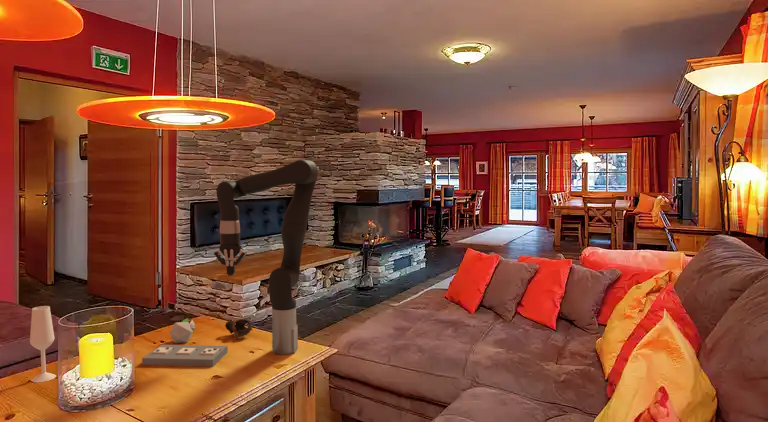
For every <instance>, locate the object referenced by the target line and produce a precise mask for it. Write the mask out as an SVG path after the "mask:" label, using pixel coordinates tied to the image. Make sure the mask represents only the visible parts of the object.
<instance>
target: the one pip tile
mask: <svg viewBox="0 0 768 422" xmlns="http://www.w3.org/2000/svg"><path fill="white" fill-rule="evenodd" d="M195 351H196V348H182V349H181V350H179V351H178V352H177V355H191V354H192V353H194V352H195Z"/></svg>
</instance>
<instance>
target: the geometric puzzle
mask: <svg viewBox="0 0 768 422" xmlns="http://www.w3.org/2000/svg"><path fill="white" fill-rule="evenodd" d="M181 322H189V324H190V327H191V329H192V331H193V332H194V331H195V330H196V325H197V322H195V321H194V320H193V319H192V318H189V317H187V318H185V319H183V320H181Z"/></svg>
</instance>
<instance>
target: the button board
mask: <svg viewBox="0 0 768 422" xmlns="http://www.w3.org/2000/svg"><path fill="white" fill-rule="evenodd" d="M228 346H229V345H203V344H202V345H199V344H198V345H197V344H196V345H195V344H187V345H186V344H160V345H159V346H157V347H155V348H154V349H152V351H150V352H149V353H147V354H145V355H144V356H143V357H141V366H142V365H143V366H173V367H174V366H176V367H179V366H181V367H214V366H215V365H216V364H217V363H218V362H220V360H221V359H223V357H225V356H226V355H227V354H228ZM159 347H169V348H173V350H172V351H171V352H169V353H168V354H153V352H154V351H155V350H157V349H158V348H159ZM182 348H196V351H195V352H194V353H192V354H191V355H177V352H178V351H179V350H181V349H182ZM206 348H217V349H219V352H218V353H217V354H216V355H201V352H202V351H204V350H205V349H206Z"/></svg>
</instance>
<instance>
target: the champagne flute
mask: <svg viewBox="0 0 768 422" xmlns="http://www.w3.org/2000/svg"><path fill="white" fill-rule="evenodd" d="M54 341H55V331H54V325H53V319H52V313H51V306H50V305H43V306H42V305H40V306H35V307H32V308H31V320H30V335H29V344H30V345H31V346H32V347H33V348H34V349H36V350H39V351H40V365H41V366H40V367H41V373H38V375H36V376H35V377H33V378H32V379H31V382H33V383H43V382H48V381H50V380H53V379H55V378H56V377H57V375H56V374H54V373H50V372H47V368H46V367H47V365H46V350H47V349H48V348H49V347H50V346H51V345H52V344H53V343H54Z"/></svg>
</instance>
